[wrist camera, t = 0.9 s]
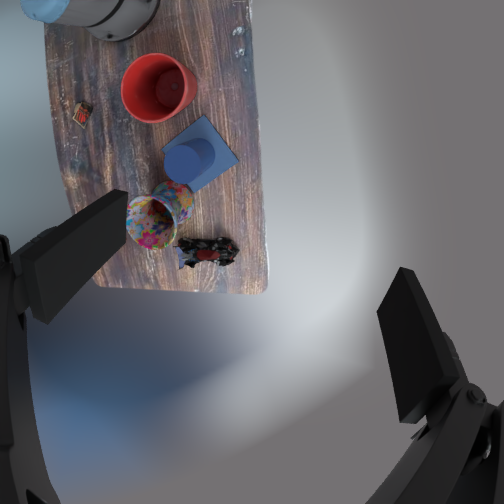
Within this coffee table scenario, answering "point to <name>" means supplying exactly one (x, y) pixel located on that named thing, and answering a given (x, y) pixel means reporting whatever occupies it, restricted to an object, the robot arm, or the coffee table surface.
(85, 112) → the matchbox
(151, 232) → the mug
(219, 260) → the toy car
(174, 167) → the blue tin
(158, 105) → the flower pot
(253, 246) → the coffee table surface
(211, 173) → the blue mat
